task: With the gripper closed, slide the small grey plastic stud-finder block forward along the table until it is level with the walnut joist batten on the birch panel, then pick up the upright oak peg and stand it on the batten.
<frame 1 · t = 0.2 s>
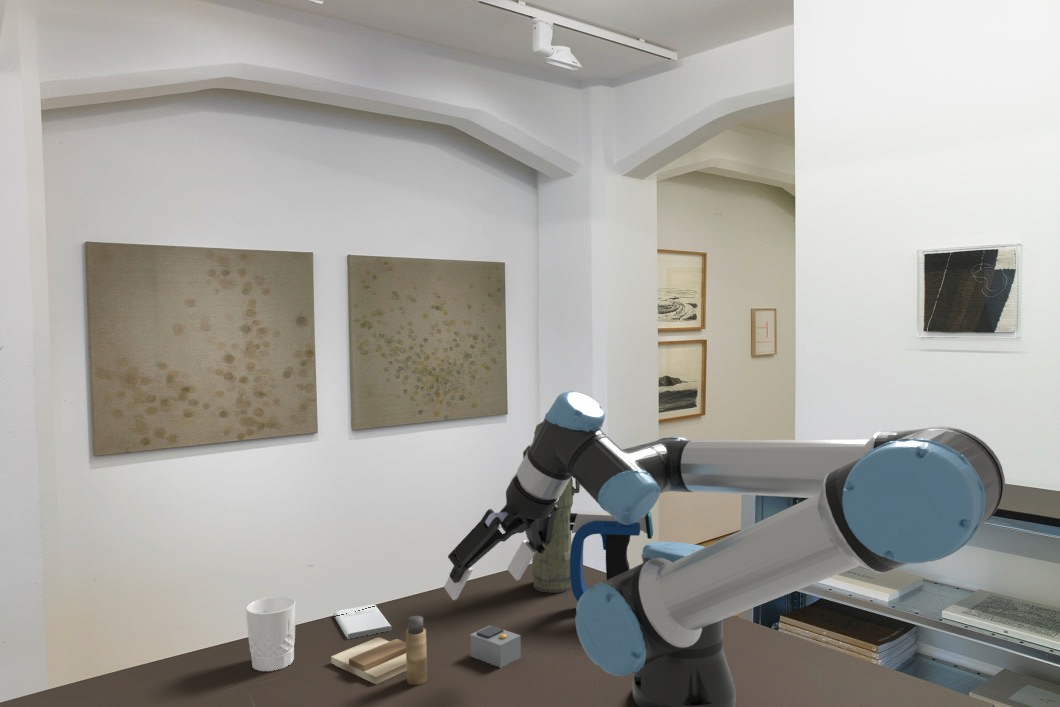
hand: (482, 583, 124), 15 cm above the table, tool tilted 35°, fingers open, 13 cm apart
handheld scanner: (612, 612, 151), on the table
external hard drive: (362, 627, 147), on the table
peg: (417, 680, 124), on the table
white cup: (273, 664, 131), on the table
finder: (495, 658, 132), on the table
thermos: (553, 586, 166), on the table
panel: (377, 662, 130), on the table
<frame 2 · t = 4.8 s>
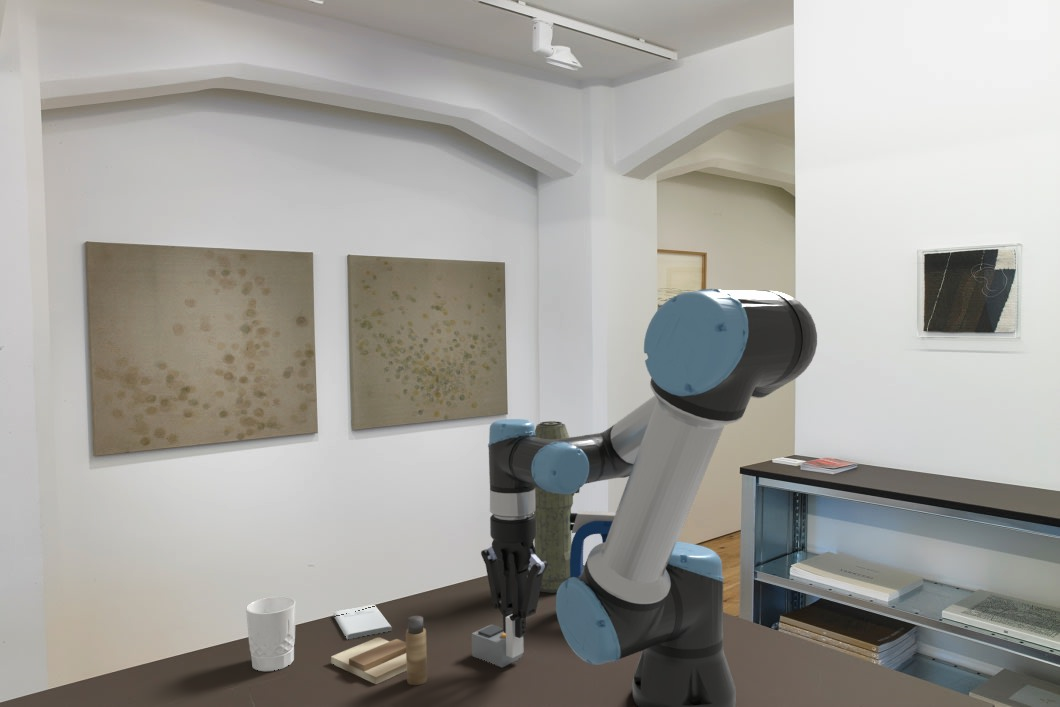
hand: (514, 653, 129), 2 cm above the table, tool pointing down, fingers closed
finder: (497, 657, 132), on the table, touching gripper
everything else where it was.
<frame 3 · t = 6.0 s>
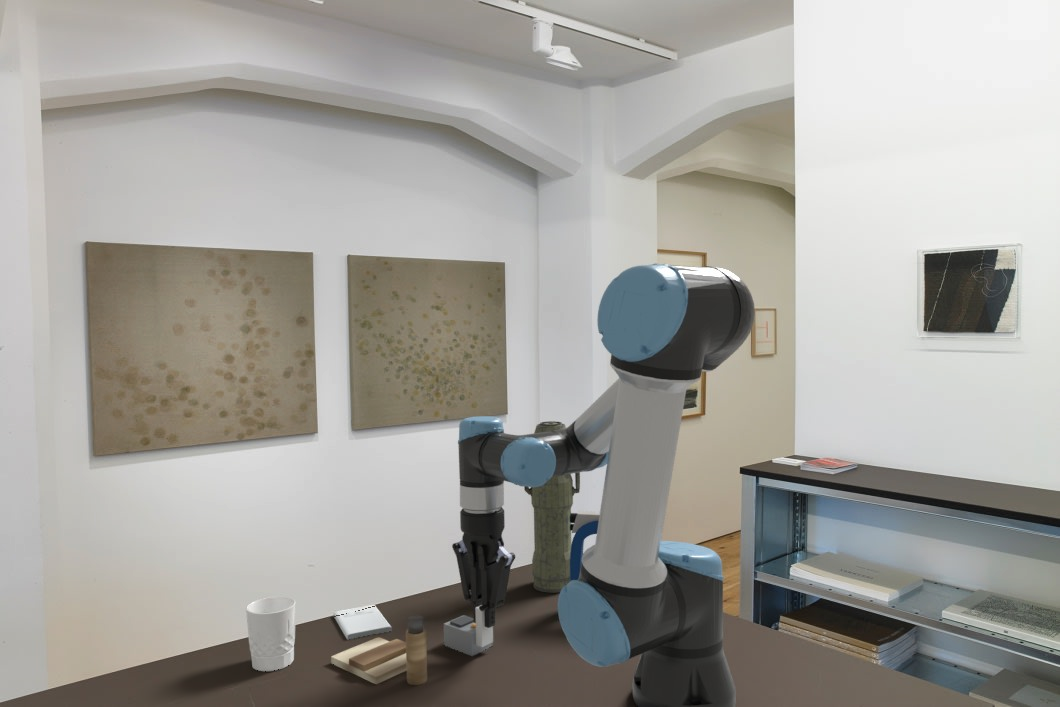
hand: (484, 643, 133), 2 cm above the table, tool pointing down, fingers closed
finder: (468, 646, 136), on the table, touching gripper
everything else where it was.
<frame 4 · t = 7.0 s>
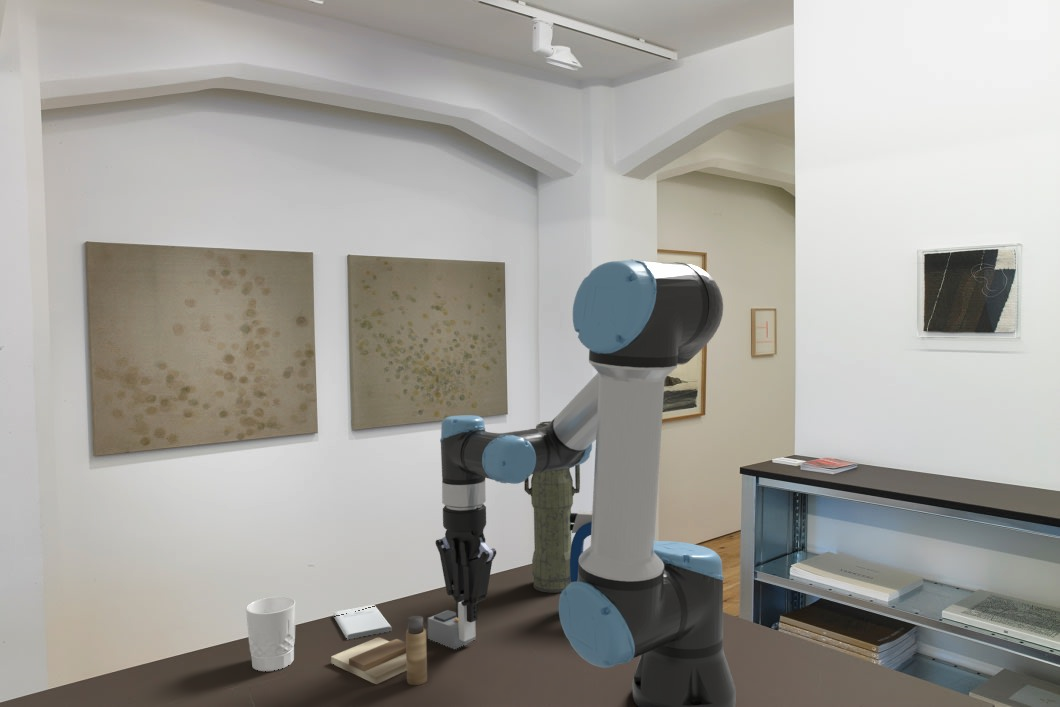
hand: (467, 637, 136), 2 cm above the table, tool pointing down, fingers closed
finder: (451, 640, 139), on the table, touching gripper
everything else where it was.
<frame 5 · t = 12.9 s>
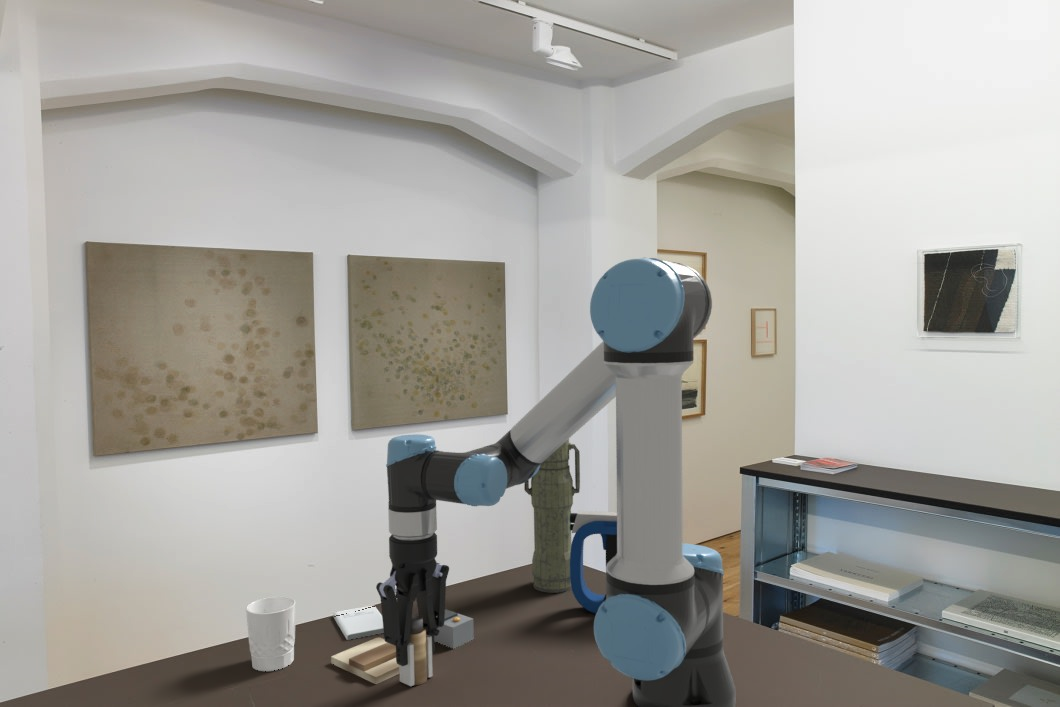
hand: (416, 678, 124), 0 cm above the table, tool pointing down, fingers closed on peg, 3 cm apart
peg: (416, 680, 124), on the table, touching gripper
finder: (450, 640, 139), on the table
everything else where it was.
when the fingers open (3 cm above the table, at t = 17.0 s): peg stays where it is, resting on panel.
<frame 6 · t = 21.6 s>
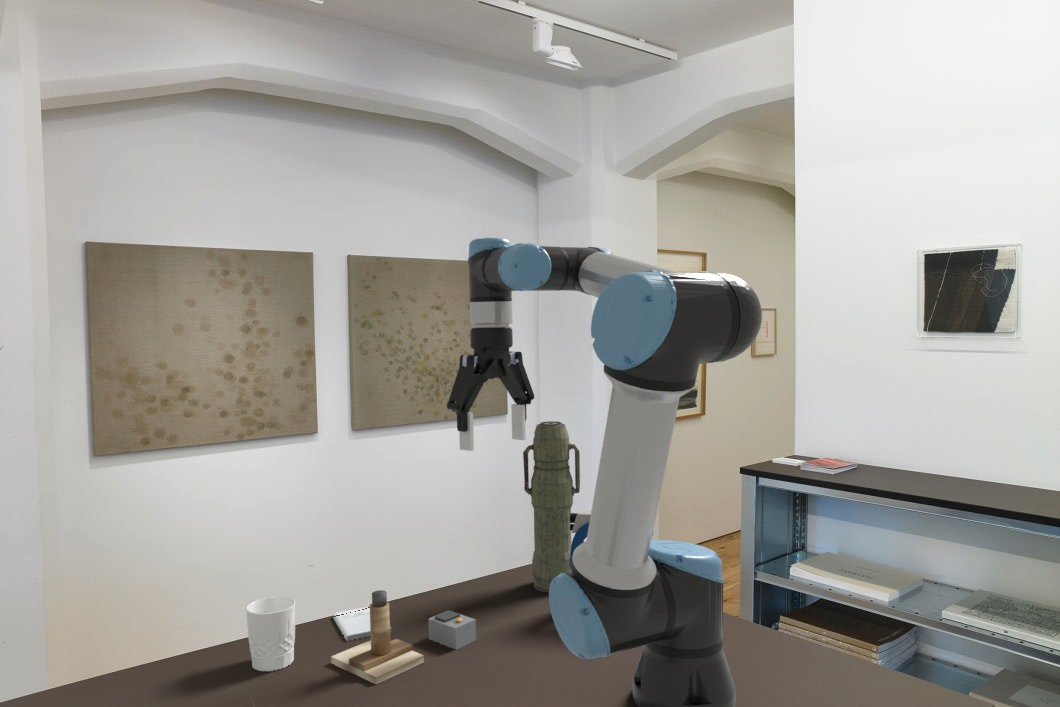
hand: (493, 444, 139), 35 cm above the table, tool pointing down, fingers open, 13 cm apart
peg: (380, 651, 129), point 2 cm above the table, touching panel
everything else where it was.
at the end: finder inside the target area (2.7 cm from its centre), on the table; peg inside the target area (0.1 cm from its centre), point 2.2 cm above the table; peg tilted 0° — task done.
